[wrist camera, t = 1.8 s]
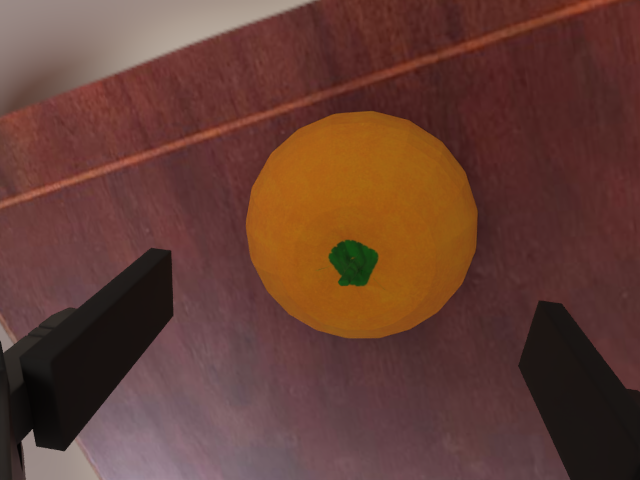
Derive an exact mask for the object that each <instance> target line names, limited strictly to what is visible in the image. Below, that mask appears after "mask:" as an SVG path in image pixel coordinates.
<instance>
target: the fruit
mask: <svg viewBox="0 0 640 480" xmlns="http://www.w3.org/2000/svg"><path fill="white" fill-rule="evenodd" d="M477 218H478V210H477V207H476V204H475V201H474V198H473V195H472V192H471V189H470V185H469V182H468V179H467V176H466V173H465V171H464V170H463V168H462V167H461V166H460V164H459V163H458V162H457V160H456V159H455V158H454V157H453V155H452V154H451V153H450V151H449V150H448V149H447V147H446V146H445V145H444V143H443V142H442V141H440V140H439V139H437V138H436V137H434V136H432V135H431V134H429V133H428V132H426V131H425V130H423V129H422V128H420V127H419V126H417V125H416V124H414V123H412V122H411V121H409V120H406V119H402V118H398V117H394V116H390V115H386V114H383V113H379V112H375V111H364V112H351V113H338V114H333V115H330V116H328V117H326V118H323V119H321V120H318V121H316V122H314V123H311V124H309V125H307V126H304V127H302V128H300V129H298V130H297V131H296V132H295V133H293V134H292V135H291V136H290V137H289V138H288V139H287V140H286V141H284V142H283V143H282V144H281V145H280V146H279V147H278V148H277V149H276V150H274V151H273V152H272V153H271V155H270V156H269V158H268V160H267V162H266V163H265V165H264V167H263V169H262V171H261V172H260V174H259V176H258V178H257V180H256V181H255V183H254V185H253V187H252V190H251V196H250V201H249V207H248V213H247V219H246V231H247V237H248V244H249V250H250V257H251V260H252V262H253V264H254V266H255V268H256V270H257V272H258V274H259V276H260V278H261V280H262V282H263V284H264V286H265V288H266V290H267V291H268V293H269V294H270V295H271V296H272V297H273V298H274V299H275V300H276V301H277V302H278V303H279V304H280V305H281V306H282V307H283V308H284V309H285V310H286V311H287V312H288V313H289V314H290V315H292V316H293V317H295V318H297V319H298V320H300V321H302V322H303V323H305V324H307V325H309V326H310V327H312V328H314V329H315V330H318V331H322V332H326V333H329V334H333V335H337V336H341V337H344V338H381V337H385V336H388V335H392V334H395V333H399V332H402V331H406V330H410V329H411V328H413V327H415V326H416V325H418V324H419V323H421V322H423V321H424V320H426V319H427V318H429V317H431V316H432V315H434V314H435V313H437V312H438V311H439V310H440V309H441V308H442V307H443V306H444V304H445V303H446V302H447V301H448V300H449V299H450V297H451V296H452V295H453V294H454V293H455V292H456V290H457V289H458V288H459V287H460V286H461V285H462V283H463V281H464V278H465V276H466V273H467V271H468V268H469V266H470V263H471V261H472V258H473V256H474V253H475V250H476V242H477Z"/></svg>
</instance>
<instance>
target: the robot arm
mask: <svg viewBox="0 0 640 480" xmlns="http://www.w3.org/2000/svg"><path fill="white" fill-rule="evenodd" d="M172 317H173V288H172V259H171V251H170V250H162V249H155V248H150V249H149V250H148V251H147V252H146V253H144V254H143V255H142V256H141V257H140V258H138V259H137V260H136V261H135V262H134V263H132V264H131V265H130V266H129V267H127V268H126V269H125V270H124V271H123V272H121V273H120V274H119V275H118V276H117V277H115V278H114V279H113V280H112V281H111V282H109V283H108V284H107V285H106V286H105V287H103V288H102V289H101V290H100V291H98V292H97V293H96V294H95V295H94V296H92V297H91V298H90V299H89V300H88V301H86V302H85V303H84V304H83V305H82V306H80V307H79V308H78V309H75V308H67V309H65V310H63V311H60V312H58V313H56V314H54V315H51V316H50V317H49V318H48V319H46V320H45V321H44V322H42V323H41V324H40V325H39V327H36V328H35V329H34V330H32V331H31V332H30V333H28V336H25V337H23V338H22V339H21V340H19V341H18V342H17V343H16V344H14V345H13V346H12V347H11V348H9V349H8V350H7V351H5V352H4V353H3V350H2V345H1V341H0V480H26V478H25V466H24V453H23V446H22V442H21V441H22V440H23V438H25V436H26V435H27V434H28V433H29V432H30V431H31V430H32V429H33V432H34V437H35V442H36V446H37V447H43V448H49V449H55V450H60V451H65V450H66V449H67V448H68V446H69V445H70V444H71V443H72V441H73V440H74V439H75V438H76V436H77V435H78V434H79V433H80V431H81V430H82V429H83V428H84V426H85V425H86V424H87V423H88V421H89V420H90V419H91V418H92V416H93V415H94V414H95V413H96V411H97V410H98V409H99V408H100V406H101V405H102V404H103V403H104V401H105V400H106V399H107V398H108V396H109V395H110V394H111V393H112V392H113V390H114V389H115V388H116V387H117V385H118V384H119V383H120V382H121V380H122V379H123V378H124V377H125V375H126V374H127V373H128V372H129V370H130V369H131V368H132V367H133V365H134V364H135V363H136V362H137V360H138V359H139V358H140V357H141V355H142V354H143V353H144V352H145V350H146V349H147V348H148V347H149V345H150V344H151V343H152V342H153V340H154V339H155V338H156V337H157V335H158V334H159V333H160V332H161V330H162V329H163V328H164V327H165V325H166V324H167V323H168V322H169V320H170V319H171V318H172ZM518 366H519V369H520V371H521V373H522V375H523V377H524V379H525V382H526V384H527V386H528V388H529V390H530V393H531V395H532V397H533V399H534V401H535V403H536V406H537V408H538V410H539V412H540V414H541V417H542V419H543V421H544V423H545V425H546V427H547V430H548V432H549V434H550V436H551V438H552V440H553V443H554V445H555V447H556V449H557V451H558V454H559V456H560V458H561V460H562V462H563V464H564V467H565V469H566V471H567V473H568V475H569V478H570V480H640V392H639V391H638V390H631V389H626V388H625V387H624V385H623V384H622V383H621V381H620V380H619V379H618V378H617V376H616V375H615V374H614V372H613V371H612V370H611V368H610V367H609V366H608V364H607V363H606V362H605V360H604V359H603V358H602V356H601V355H600V354H599V352H598V351H597V350H596V348H595V347H594V346H593V344H592V343H591V342H590V340H589V339H588V338H587V336H586V335H585V334H584V332H583V331H582V330H581V329H580V327H579V326H578V325H577V323H576V322H575V321H574V319H573V318H572V317H571V315H570V314H569V313H568V311H567V310H566V309H565V307H564V306H563V305H562V304H561V303H553V302H546V301H539V302H538V305H537V308H536V311H535V314H534V318H533V321H532V324H531V327H530V330H529V333H528V337H527V340H526V343H525V346H524V349H523V353H522V356H521V359H520V362H519V365H518Z"/></svg>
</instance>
